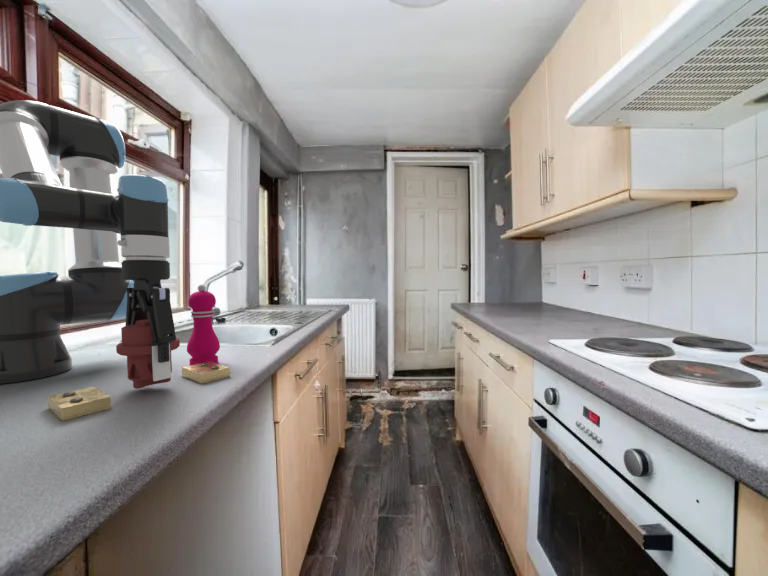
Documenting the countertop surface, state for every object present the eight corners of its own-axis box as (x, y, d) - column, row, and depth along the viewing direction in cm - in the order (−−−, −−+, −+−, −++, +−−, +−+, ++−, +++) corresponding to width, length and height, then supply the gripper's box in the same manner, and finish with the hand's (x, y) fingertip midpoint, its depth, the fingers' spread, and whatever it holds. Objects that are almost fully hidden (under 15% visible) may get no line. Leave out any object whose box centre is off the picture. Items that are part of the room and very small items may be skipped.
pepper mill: (215, 359, 88) (213, 284, 87) (224, 364, 82) (221, 284, 82) (184, 364, 83) (181, 284, 82) (191, 370, 78) (188, 285, 77)
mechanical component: (192, 376, 69) (149, 393, 59) (152, 373, 71) (103, 390, 61) (190, 317, 68) (146, 324, 58) (149, 316, 70) (100, 323, 60)
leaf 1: (48, 407, 56) (48, 394, 56) (94, 397, 61) (93, 384, 61) (62, 421, 51) (61, 406, 51) (110, 408, 56) (110, 394, 56)
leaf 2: (182, 376, 73) (181, 366, 73) (209, 369, 78) (209, 360, 78) (202, 383, 68) (201, 372, 68) (230, 376, 73) (229, 366, 73)
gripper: (102, 260, 67) (107, 369, 68) (146, 256, 54) (151, 391, 55) (145, 261, 73) (149, 361, 74) (195, 258, 60) (198, 379, 61)
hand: (150, 374), depth 65 cm, fingers closed on mechanical component, 10 cm apart
